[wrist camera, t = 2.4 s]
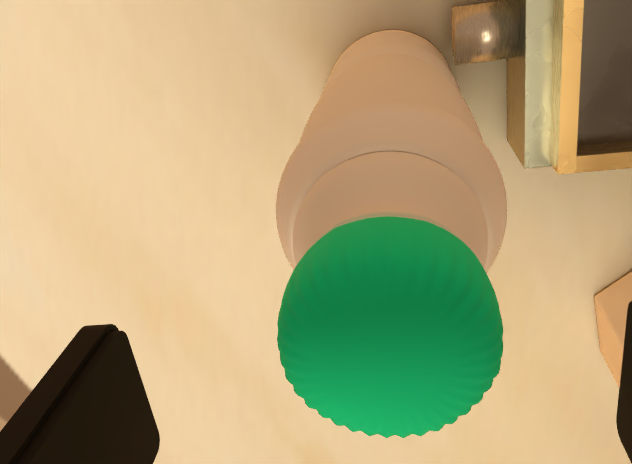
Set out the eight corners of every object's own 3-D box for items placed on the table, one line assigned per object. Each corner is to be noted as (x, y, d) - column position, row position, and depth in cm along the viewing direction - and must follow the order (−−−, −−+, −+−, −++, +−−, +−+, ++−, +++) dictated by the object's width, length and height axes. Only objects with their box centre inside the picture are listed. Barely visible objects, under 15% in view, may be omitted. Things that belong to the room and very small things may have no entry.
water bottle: (338, 18, 33) (223, 168, 10) (465, 38, 32) (633, 237, 10) (320, 141, 36) (203, 461, 13) (437, 160, 36) (516, 520, 13)
